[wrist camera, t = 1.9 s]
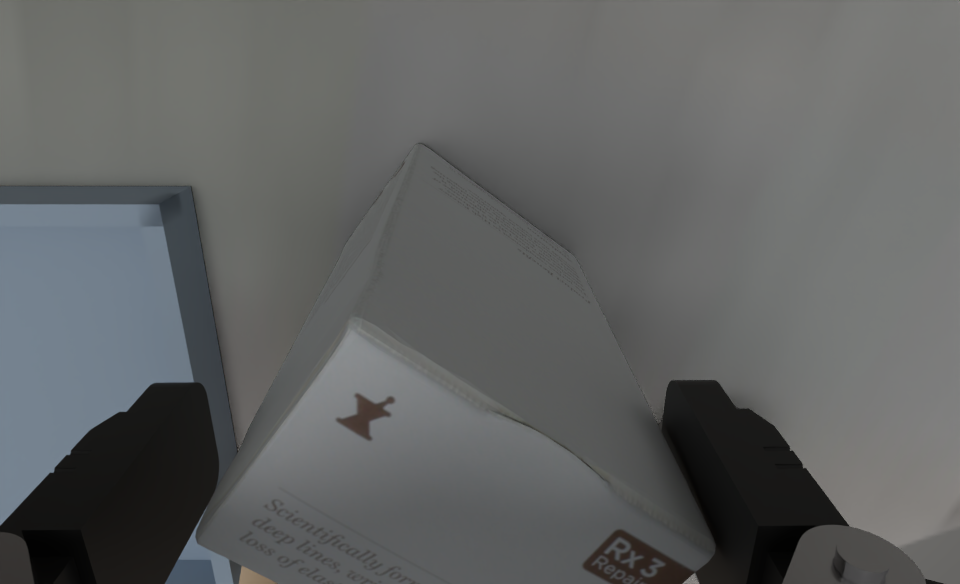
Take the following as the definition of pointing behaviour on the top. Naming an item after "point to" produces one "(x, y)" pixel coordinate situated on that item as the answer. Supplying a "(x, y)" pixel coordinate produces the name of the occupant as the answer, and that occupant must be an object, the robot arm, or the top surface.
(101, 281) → the tray
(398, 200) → the skincare box
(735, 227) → the top surface
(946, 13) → the top surface
